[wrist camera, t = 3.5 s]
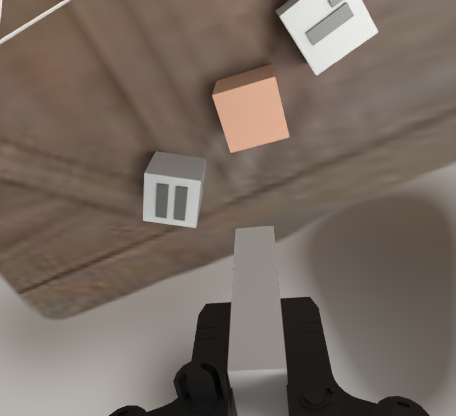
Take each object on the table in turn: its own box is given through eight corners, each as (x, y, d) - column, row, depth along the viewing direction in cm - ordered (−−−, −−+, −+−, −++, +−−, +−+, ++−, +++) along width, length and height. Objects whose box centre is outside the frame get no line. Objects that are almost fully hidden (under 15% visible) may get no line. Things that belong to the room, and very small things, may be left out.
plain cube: (232, 132, 37) (230, 153, 33) (216, 80, 34) (212, 95, 30) (284, 117, 36) (289, 137, 32) (271, 63, 34) (275, 76, 29)
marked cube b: (307, 62, 33) (317, 76, 29) (275, 10, 31) (279, 16, 27) (360, 24, 32) (379, 32, 27) (329, -33, 30) (344, -35, 25)
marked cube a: (154, 194, 41) (142, 222, 36) (155, 150, 38) (143, 174, 34) (201, 201, 41) (195, 229, 36) (206, 158, 38) (200, 182, 34)
